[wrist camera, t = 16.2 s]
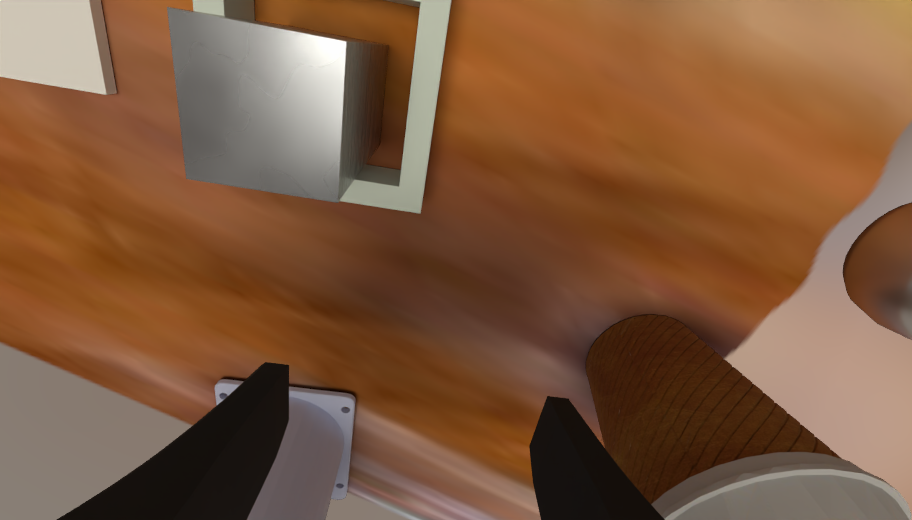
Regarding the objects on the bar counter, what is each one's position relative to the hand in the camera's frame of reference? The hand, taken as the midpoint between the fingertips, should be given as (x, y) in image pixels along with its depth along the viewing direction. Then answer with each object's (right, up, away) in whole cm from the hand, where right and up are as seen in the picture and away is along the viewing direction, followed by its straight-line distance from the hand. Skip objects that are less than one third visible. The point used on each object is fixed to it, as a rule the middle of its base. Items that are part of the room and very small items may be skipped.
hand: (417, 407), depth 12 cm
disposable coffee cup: (+12, -2, +13) cm, 18 cm away
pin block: (-4, +11, +6) cm, 13 cm away
